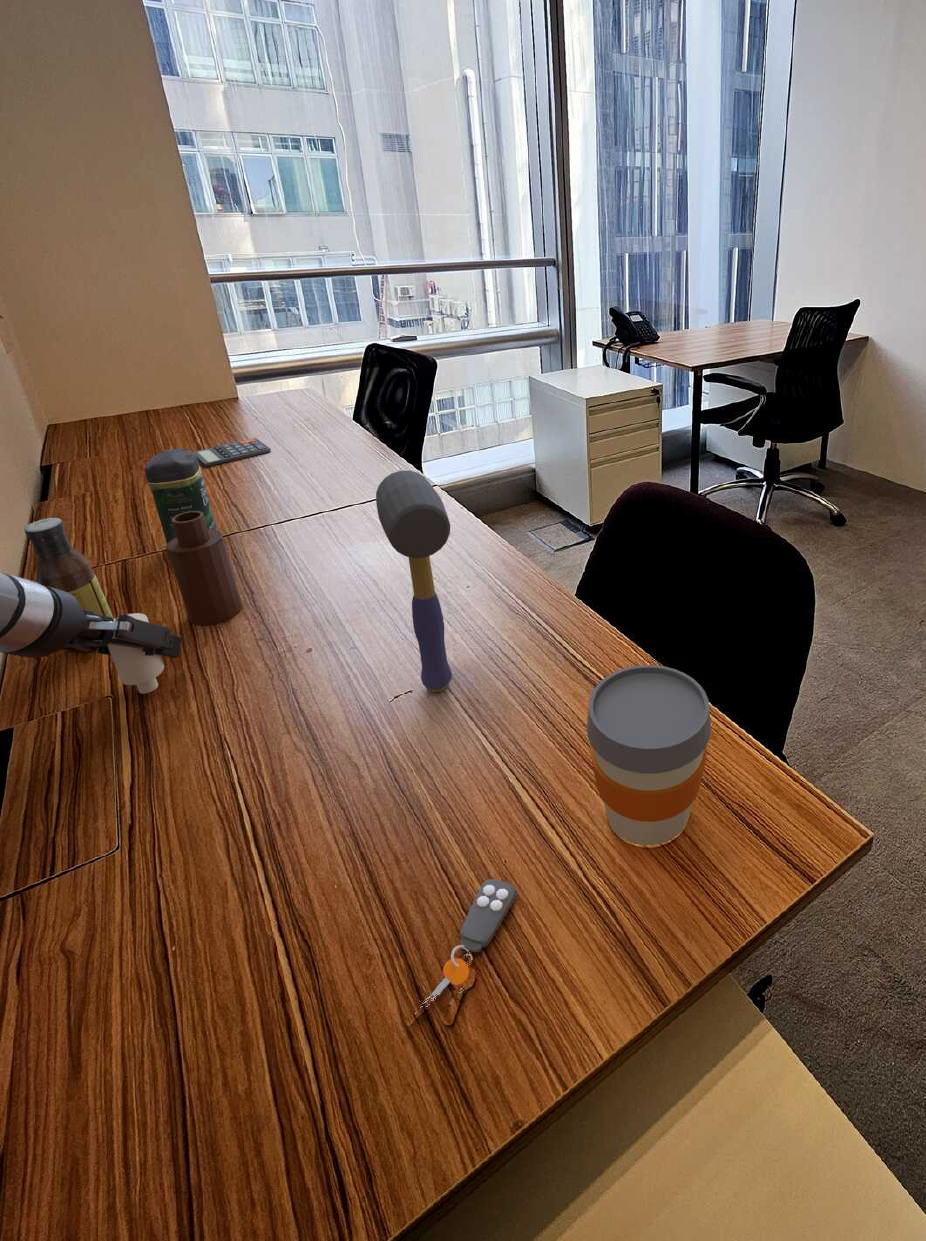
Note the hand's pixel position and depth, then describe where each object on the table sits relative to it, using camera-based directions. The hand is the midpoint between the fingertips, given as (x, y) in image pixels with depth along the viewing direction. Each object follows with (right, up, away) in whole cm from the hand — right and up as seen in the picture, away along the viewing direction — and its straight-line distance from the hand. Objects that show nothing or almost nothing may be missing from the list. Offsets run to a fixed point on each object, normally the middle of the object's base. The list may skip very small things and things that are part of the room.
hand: (156, 648), depth 93 cm
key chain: (+52, -19, -34) cm, 64 cm away
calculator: (-37, +31, +79) cm, 93 cm away
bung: (0, -5, -2) cm, 5 cm away
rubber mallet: (+39, -5, -1) cm, 40 cm away
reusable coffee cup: (+68, -13, -20) cm, 72 cm away
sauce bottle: (-15, -1, +8) cm, 17 cm away
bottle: (-1, +2, +15) cm, 15 cm away
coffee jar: (-17, +11, +35) cm, 40 cm away
